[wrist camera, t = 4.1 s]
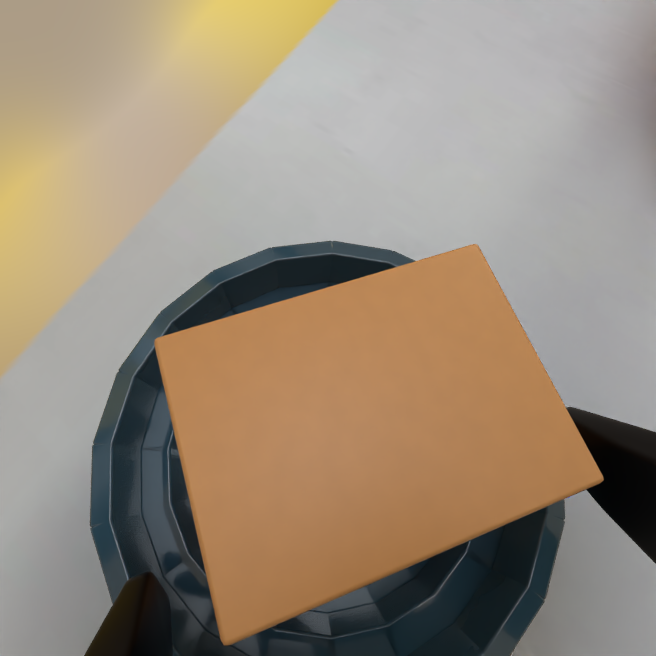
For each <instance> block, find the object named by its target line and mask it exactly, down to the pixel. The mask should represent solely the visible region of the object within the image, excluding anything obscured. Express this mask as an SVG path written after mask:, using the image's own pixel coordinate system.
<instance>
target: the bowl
mask: <svg viewBox="0 0 656 656" xmlns="http://www.w3.org/2000/svg"><path fill="white" fill-rule="evenodd" d="M412 262H415V260H412V259H410V258H408V257H406V256H404V255H402V254H399V253H397V252H395V251H393V252H392V250H387V249H380V248H374V247H368V246H362V245H356V244H350V243H344V242H338V241H333V242H332V241H325V242H316V243H307V244H297V245H288V246H279V247H272V248H268V249H265V250H263V251H260V252H258V253H255V254H253V255H251V256H248V257H246V258H243V259H241V260H238V261H236V262H233V263H231V264H228V265H226V266H223V267H221V268H218V269H216V270H214V271H213V272H211V273H209V274H208V275H207V276H206V277H204V278H203V279H202V280H200V281H199V282H198V283H197V284H195V285H194V286H193V287H192V288H190V289H189V290H188V291H186V292H185V293H184V294H183V295H181V296H180V297H179V298H177V299H176V300H175V301H174V302H172V303H171V304H170V305H169V306H167V307H166V308H165V309H163V310H162V311H161V312H160V313H161V314H158V316H157V317H156V318H155V320H154V321H153V323H152V324H151V325H150V327H149V328H148V330H147V331H146V332H145V334H144V335H143V336H142V338H141V339H140V341H139V342H138V343H137V345H136V346H135V348H134V349H133V350H132V352H131V353H130V355H129V356H128V357H127V359H126V360H125V362H124V363H123V364H122V366H121V367H120V369H119V372H118V373H117V375H116V378H115V380H114V383H113V386H112V389H111V392H110V395H109V398H108V401H107V404H106V407H105V409H104V412H103V415H102V418H101V421H100V424H99V427H98V430H97V433H96V436H95V438H94V441H93V444H94V445H93V446H92V474H91V508H90V527H91V533H92V536H93V540H94V543H95V546H96V550H97V553H98V556H99V560H100V563H101V566H102V570H103V573H104V576H105V580H106V583H107V586H108V590H109V593H110V596H111V600H112V603H113V604H114V602H115V600H116V598H117V597H118V595H119V593H120V591H121V590H122V588H123V586H124V584H125V583H126V582H127V581H128V580H129V579H130V578H132V577H134V576H136V575H139V574H141V573H144V572H147V571H151V572H153V574H154V575H155V576H156V578H157V579H158V581H159V582H160V584H161V585H162V587H163V588H164V590H165V592H166V593H167V595H168V598H169V602H170V611H171V628H172V646H173V656H510V654H511V653H512V651H513V650H514V648H515V647H516V645H517V644H518V642H519V640H520V639H521V637H522V636H523V634H524V633H525V631H526V630H527V628H528V626H529V625H530V623H531V622H532V620H533V619H534V617H535V616H536V614H537V612H538V611H539V609H540V608H541V606H542V605H543V603H544V599H545V598H546V595H547V591H548V587H549V583H550V579H551V575H552V571H553V567H554V563H555V559H556V555H557V551H558V547H559V543H560V539H561V535H562V531H563V527H564V523H565V521H564V519H565V507H564V499H563V500H561V501H558V502H556V503H554V504H552V505H549V506H547V507H545V508H542V509H540V510H538V511H536V512H533V513H531V514H529V515H526V516H524V517H522V518H520V519H517V520H515V521H513V522H511V523H508V524H506V525H504V526H501V527H499V528H497V529H495V530H492V531H490V532H488V533H485V534H483V535H481V536H479V537H476V538H474V539H472V540H469V541H467V542H465V543H463V544H460V545H458V546H456V547H453V548H451V549H449V550H447V551H444V552H442V553H440V554H437V555H435V556H433V557H431V558H428V559H426V560H424V561H421V562H419V563H417V564H415V565H412V566H410V567H408V568H405V569H403V570H401V571H399V572H396V573H394V574H392V575H389V576H387V577H385V578H383V579H380V580H378V581H376V582H373V583H371V584H369V585H367V586H364V587H362V588H360V589H357V590H355V591H353V592H351V593H348V594H346V595H344V596H341V597H339V598H337V599H335V600H332V601H330V602H328V603H325V604H323V605H321V606H319V607H316V608H314V609H312V610H309V611H307V612H305V613H303V614H300V615H298V616H296V617H293V618H291V619H289V620H287V621H284V622H282V623H280V624H277V625H275V626H273V627H271V628H268V629H266V630H264V631H261V632H259V633H257V634H255V635H252V636H250V637H248V638H245V639H243V640H241V641H239V642H236V643H234V644H232V645H223V643H222V642H221V639H220V634H219V630H218V625H217V621H216V617H215V612H214V608H213V603H212V599H211V594H210V590H209V585H208V581H207V577H206V572H205V568H204V563H203V559H202V554H201V550H200V545H199V541H198V537H197V532H196V528H195V523H194V519H193V514H192V510H191V505H190V501H189V496H188V492H187V488H186V483H185V479H184V474H183V470H182V465H181V461H180V456H179V452H178V448H177V443H176V439H175V434H174V430H173V425H172V421H171V416H170V412H169V408H168V403H167V399H166V394H165V390H164V385H163V381H162V376H161V372H160V368H159V363H158V359H157V354H156V350H155V345H154V342H155V339H156V338H158V337H162V336H165V335H168V334H172V333H175V332H179V331H182V330H185V329H189V328H192V327H196V326H199V325H202V324H206V323H209V322H212V321H216V320H219V319H223V318H226V317H229V316H233V315H236V314H239V313H243V312H246V311H250V310H253V309H256V308H260V307H263V306H267V305H270V304H273V303H277V302H280V301H283V300H287V299H290V298H294V297H297V296H300V295H304V294H307V293H310V292H314V291H317V290H321V289H324V288H327V287H331V286H334V285H337V284H341V283H344V282H348V281H351V280H354V279H358V278H361V277H365V276H368V275H371V274H375V273H378V272H381V271H385V270H388V269H392V268H395V267H398V266H402V265H405V264H408V263H412Z"/></svg>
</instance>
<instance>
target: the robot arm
mask: <svg viewBox="0 0 656 656" xmlns="http://www.w3.org/2000/svg"><path fill="white" fill-rule="evenodd" d="M566 409H567V411H568V413H569V414H570V416H571V418H572V420H573V422H574V424H575V426H576V427H577V429H578V431H579V433H580V435H581V437H582V438H583V440H584V442H585V444H586V446H587V448H588V450H589V451H590V453H591V455H592V457H593V459H594V461H595V462H596V464H597V466H598V468H599V470H600V472H601V474H602V475H603V479H604V480H603V481H602V482H601V483H600V484H597V485H595V486H593V487H590V488H588V489H586V490H587V491H588V492H589V493H590V495H591V496H592V497H593V498H594V499H595V501H596V502H597V503H598V504H599V505H600V506H601V508H602V509H603V510H604V511H605V512H606V513H607V514H608V515H609V516H610V517H611V518H612V519H613V520H614V521H615V522H616V523H617V524H618V525H619V526H620V527H621V529H622V530H623V531H624V532H625V533H626V534H627V535H628V536H629V537H630V538H631V539H632V540H633V541H634V542H635V543H636V544H637V545H638V546H639V547H640V548H641V549H642V550H643V551H644V552H645V553H646V554H647V555H648V556H649V557H650V558H651V559H652V560H653V562H654V563H655V564H656V432H653V431H650V430H647V429H643V428H640V427H637V426H633V425H630V424H627V423H623V422H620V421H617V420H613V419H610V418H607V417H603V416H600V415H597V414H593V413H590V412H587V411H583V410H580V409H577V408H573V407H566ZM84 656H173V646H172V628H171V611H170V602H169V598H168V595H167V593H166V592H165V590H164V588H163V587H162V585H161V584H160V582H159V581H158V579H157V578H156V576H155V575H154V574H153V572H151V571H147V572H144V573H141V574H139V575H136V576H134V577H132V578H130V579H129V580H128V581H127V582H126V583H125V584H124V586H123V588H122V590H121V591H120V593H119V595H118V597H117V598H116V600H115V602H114V604H113V606H112V607H111V609H110V611H109V613H108V614H107V616H106V618H105V620H104V621H103V623H102V625H101V627H100V629H99V630H98V632H97V634H96V636H95V637H94V639H93V641H92V643H91V644H90V646H89V648H88V650H87V652H86V653H85V655H84Z"/></svg>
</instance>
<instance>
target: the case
mask: <svg viewBox="0 0 656 656" xmlns="http://www.w3.org/2000/svg"><path fill="white" fill-rule="evenodd" d="M154 345H155V350H156V354H157V359H158V363H159V368H160V372H161V376H162V381H163V385H164V390H165V394H166V399H167V403H168V408H169V412H170V416H171V421H172V425H173V430H174V434H175V439H176V443H177V448H178V452H179V456H180V461H181V465H182V470H183V474H184V479H185V483H186V488H187V492H188V496H189V501H190V505H191V510H192V514H193V519H194V523H195V528H196V532H197V537H198V541H199V545H200V550H201V554H202V559H203V563H204V568H205V572H206V577H207V581H208V585H209V590H210V594H211V599H212V603H213V608H214V612H215V617H216V621H217V625H218V630H219V634H220V639H221V642H222V643H223V645H232V644H234V643H236V642H239V641H241V640H243V639H245V638H248V637H250V636H252V635H255V634H257V633H259V632H261V631H264V630H266V629H268V628H271V627H273V626H275V625H277V624H280V623H282V622H284V621H287V620H289V619H291V618H293V617H296V616H298V615H300V614H303V613H305V612H307V611H309V610H312V609H314V608H316V607H319V606H321V605H323V604H325V603H328V602H330V601H332V600H335V599H337V598H339V597H341V596H344V595H346V594H348V593H351V592H353V591H355V590H357V589H360V588H362V587H364V586H367V585H369V584H371V583H373V582H376V581H378V580H380V579H383V578H385V577H387V576H389V575H392V574H394V573H396V572H399V571H401V570H403V569H405V568H408V567H410V566H412V565H415V564H417V563H419V562H421V561H424V560H426V559H428V558H431V557H433V556H435V555H437V554H440V553H442V552H444V551H447V550H449V549H451V548H453V547H456V546H458V545H460V544H463V543H465V542H467V541H469V540H472V539H474V538H476V537H479V536H481V535H483V534H485V533H488V532H490V531H492V530H495V529H497V528H499V527H501V526H504V525H506V524H508V523H511V522H513V521H515V520H517V519H520V518H522V517H524V516H526V515H529V514H531V513H533V512H536V511H538V510H540V509H542V508H545V507H547V506H549V505H552V504H554V503H556V502H558V501H561V500H563V499H565V498H568V497H570V496H572V495H574V494H577V493H579V492H581V491H584V490H586V489H588V488H590V487H593V486H595V485H597V484H600V483H601V482H602V481H603V480H604V479H603V475H602V474H601V472H600V470H599V468H598V466H597V464H596V462H595V461H594V459H593V457H592V455H591V453H590V451H589V450H588V448H587V446H586V444H585V442H584V440H583V438H582V437H581V435H580V433H579V431H578V429H577V427H576V426H575V424H574V422H573V420H572V418H571V416H570V414H569V413H568V411H567V409H566V407H565V405H564V403H563V402H562V400H561V398H560V396H559V394H558V392H557V390H556V389H555V387H554V385H553V383H552V381H551V379H550V377H549V376H548V374H547V372H546V370H545V368H544V366H543V365H542V363H541V361H540V359H539V357H538V355H537V353H536V352H535V350H534V348H533V346H532V344H531V342H530V341H529V339H528V337H527V335H526V333H525V331H524V329H523V328H522V326H521V324H520V322H519V320H518V318H517V317H516V315H515V313H514V311H513V309H512V307H511V305H510V304H509V302H508V300H507V298H506V296H505V294H504V293H503V291H502V289H501V287H500V285H499V283H498V281H497V280H496V278H495V276H494V274H493V272H492V270H491V269H490V267H489V265H488V263H487V261H486V259H485V257H484V256H483V254H482V252H481V250H480V248H479V246H478V245H477V244H473V245H469V246H466V247H463V248H459V249H456V250H452V251H449V252H446V253H442V254H439V255H435V256H432V257H429V258H425V259H422V260H419V261H415V262H412V263H408V264H405V265H402V266H398V267H395V268H392V269H388V270H385V271H381V272H378V273H375V274H371V275H368V276H365V277H361V278H358V279H354V280H351V281H348V282H344V283H341V284H337V285H334V286H331V287H327V288H324V289H321V290H317V291H314V292H310V293H307V294H304V295H300V296H297V297H294V298H290V299H287V300H283V301H280V302H277V303H273V304H270V305H267V306H263V307H260V308H256V309H253V310H250V311H246V312H243V313H239V314H236V315H233V316H229V317H226V318H223V319H219V320H216V321H212V322H209V323H206V324H202V325H199V326H196V327H192V328H189V329H185V330H182V331H179V332H175V333H172V334H168V335H165V336H162V337H158V338H156V339H155V342H154Z"/></svg>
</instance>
